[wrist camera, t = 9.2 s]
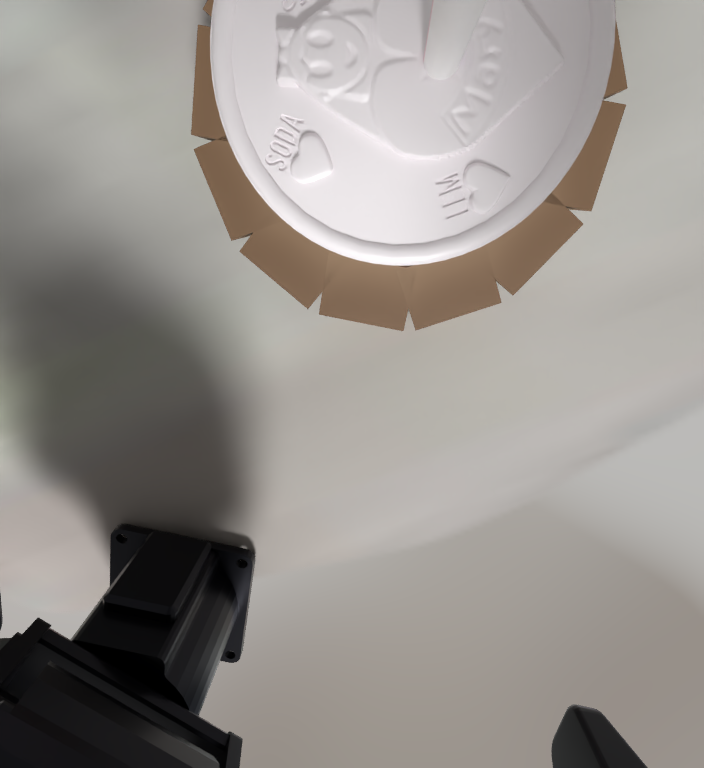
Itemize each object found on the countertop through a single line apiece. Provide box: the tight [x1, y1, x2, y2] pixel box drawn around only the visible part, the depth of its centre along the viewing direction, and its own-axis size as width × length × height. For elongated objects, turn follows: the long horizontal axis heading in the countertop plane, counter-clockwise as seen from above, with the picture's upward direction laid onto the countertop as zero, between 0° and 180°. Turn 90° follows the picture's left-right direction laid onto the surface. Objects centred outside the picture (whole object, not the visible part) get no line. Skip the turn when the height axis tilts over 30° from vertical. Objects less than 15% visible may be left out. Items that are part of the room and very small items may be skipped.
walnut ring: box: [191, 0, 627, 331], centre depth 16 cm, size 12×12×2 cm
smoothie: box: [210, 0, 616, 266], centre depth 10 cm, size 6×6×14 cm
